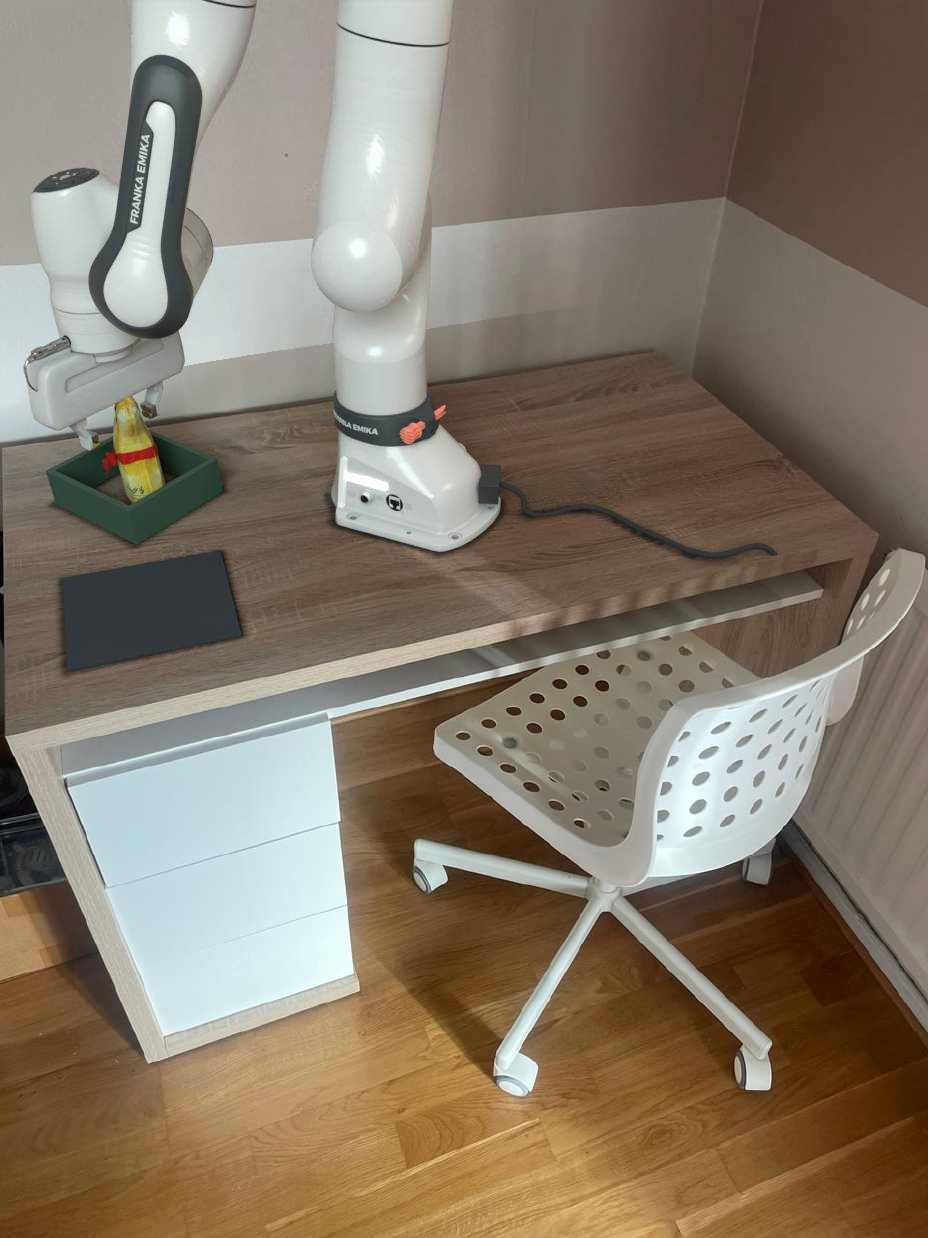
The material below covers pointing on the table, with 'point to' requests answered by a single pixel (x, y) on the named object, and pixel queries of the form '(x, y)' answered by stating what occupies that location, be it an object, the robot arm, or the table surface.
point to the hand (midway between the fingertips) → (122, 431)
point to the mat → (147, 609)
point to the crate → (151, 511)
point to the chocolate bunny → (134, 452)
